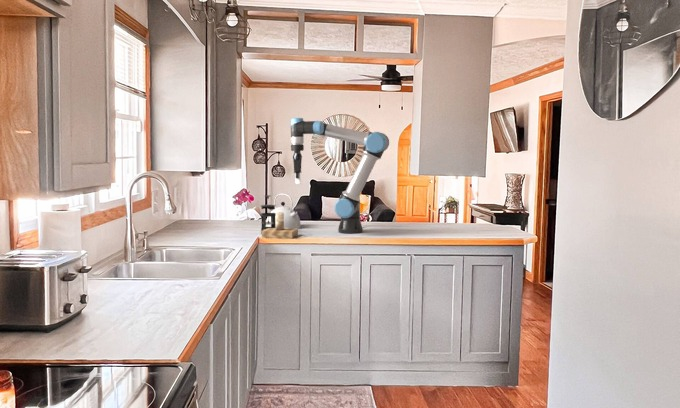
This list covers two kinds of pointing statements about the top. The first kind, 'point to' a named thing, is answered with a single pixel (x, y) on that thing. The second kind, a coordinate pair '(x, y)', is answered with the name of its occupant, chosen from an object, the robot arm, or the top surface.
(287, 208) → the kettle
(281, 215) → the peg
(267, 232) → the board
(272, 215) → the french press
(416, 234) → the top surface
